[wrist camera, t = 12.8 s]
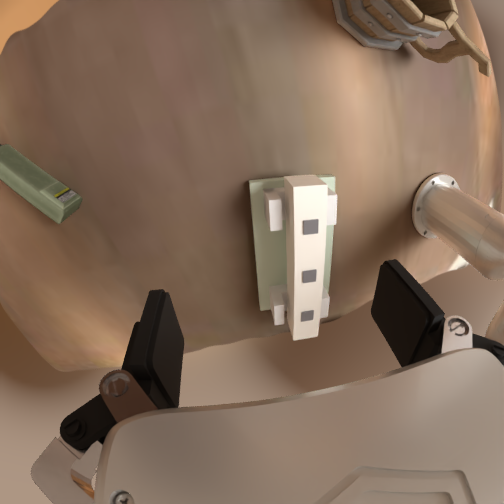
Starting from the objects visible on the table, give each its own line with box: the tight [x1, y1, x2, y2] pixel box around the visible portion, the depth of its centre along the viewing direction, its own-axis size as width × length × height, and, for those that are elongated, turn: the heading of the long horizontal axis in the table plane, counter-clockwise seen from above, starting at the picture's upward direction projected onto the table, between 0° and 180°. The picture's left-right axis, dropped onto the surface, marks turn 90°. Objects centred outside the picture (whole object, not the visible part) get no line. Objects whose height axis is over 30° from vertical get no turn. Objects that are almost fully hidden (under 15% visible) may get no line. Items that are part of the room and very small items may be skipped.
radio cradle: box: [249, 174, 337, 325], centre depth 40 cm, size 12×22×6 cm, turn 5°
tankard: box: [332, 0, 491, 77], centre depth 20 cm, size 20×13×15 cm, turn 54°
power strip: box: [284, 174, 328, 340], centre depth 38 cm, size 4×24×5 cm, turn 5°
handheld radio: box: [0, 144, 82, 224], centre depth 28 cm, size 7×3×25 cm
